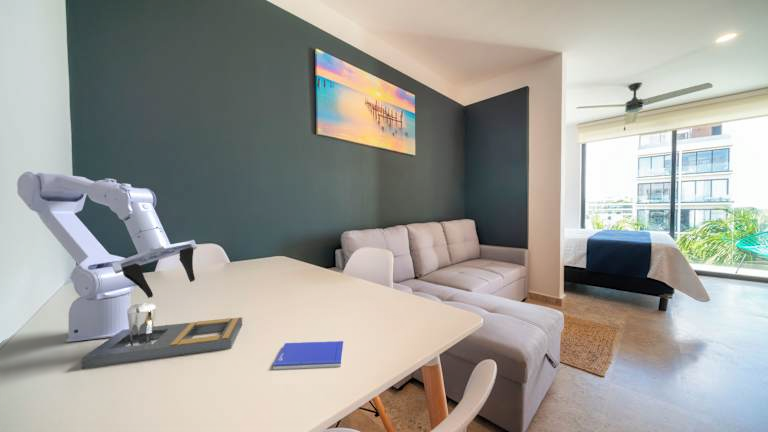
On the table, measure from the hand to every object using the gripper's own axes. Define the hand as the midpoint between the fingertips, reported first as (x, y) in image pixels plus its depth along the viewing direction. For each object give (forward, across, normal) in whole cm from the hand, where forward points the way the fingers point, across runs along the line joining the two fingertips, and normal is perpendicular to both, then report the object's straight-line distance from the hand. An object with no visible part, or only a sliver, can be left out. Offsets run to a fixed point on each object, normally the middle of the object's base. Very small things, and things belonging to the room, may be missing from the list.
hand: (172, 288), depth 58 cm
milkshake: (+9, -8, +6) cm, 13 cm away
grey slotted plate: (+11, -3, +3) cm, 12 cm away
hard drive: (+28, +12, -18) cm, 35 cm away
